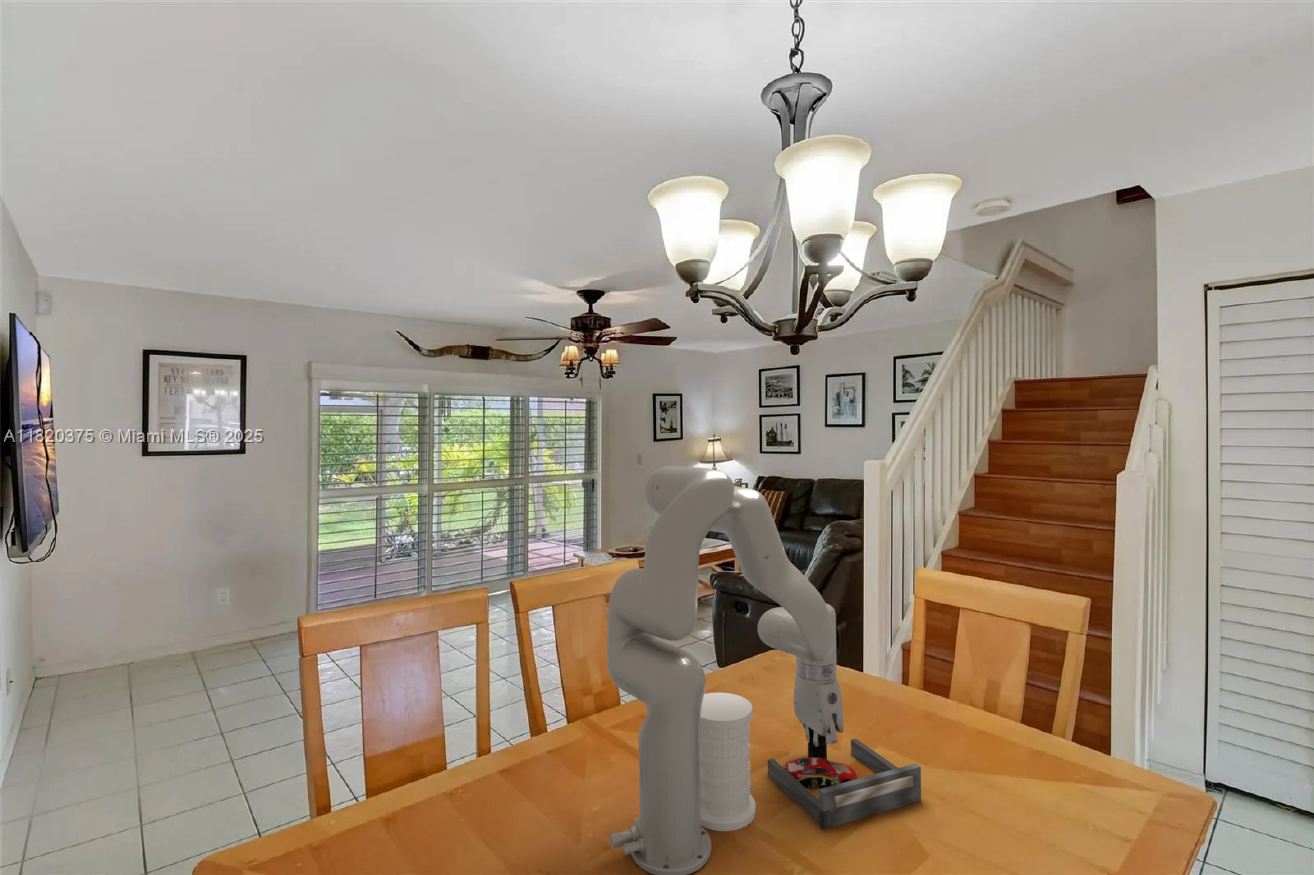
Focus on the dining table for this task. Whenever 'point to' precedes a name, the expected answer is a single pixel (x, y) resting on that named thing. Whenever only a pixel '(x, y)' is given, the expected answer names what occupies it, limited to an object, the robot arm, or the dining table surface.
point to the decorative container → (725, 762)
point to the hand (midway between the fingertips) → (817, 762)
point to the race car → (819, 772)
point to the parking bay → (854, 790)
